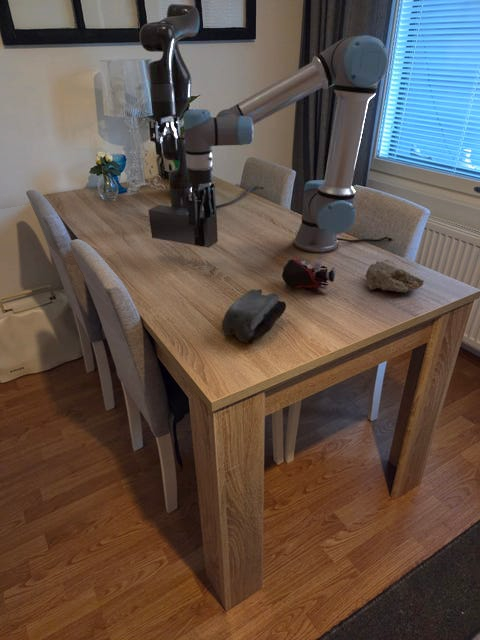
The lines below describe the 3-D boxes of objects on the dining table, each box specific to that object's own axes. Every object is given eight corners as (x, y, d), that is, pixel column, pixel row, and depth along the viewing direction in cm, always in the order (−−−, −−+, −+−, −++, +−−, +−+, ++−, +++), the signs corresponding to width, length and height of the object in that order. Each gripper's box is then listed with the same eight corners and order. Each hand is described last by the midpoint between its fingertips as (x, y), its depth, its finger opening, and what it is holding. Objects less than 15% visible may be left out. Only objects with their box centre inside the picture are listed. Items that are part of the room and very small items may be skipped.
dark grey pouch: (257, 354, 105) (257, 326, 101) (216, 341, 109) (215, 314, 105) (287, 319, 119) (289, 292, 114) (250, 308, 123) (250, 283, 119)
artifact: (384, 303, 127) (425, 296, 132) (391, 281, 123) (434, 275, 127) (349, 272, 141) (388, 267, 145) (355, 251, 136) (395, 247, 141)
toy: (334, 253, 124) (283, 248, 130) (327, 283, 122) (275, 277, 127) (338, 272, 135) (291, 267, 140) (332, 300, 132) (284, 294, 138)
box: (151, 237, 148) (148, 209, 143) (161, 232, 152) (158, 204, 147) (209, 247, 140) (207, 218, 135) (217, 241, 144) (216, 212, 139)
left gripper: (159, 101, 135) (164, 157, 143) (184, 97, 146) (187, 149, 154) (139, 100, 137) (145, 155, 146) (165, 96, 148) (169, 147, 157)
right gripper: (194, 176, 122) (199, 254, 134) (225, 162, 136) (228, 233, 149) (171, 174, 125) (178, 250, 137) (204, 160, 139) (208, 230, 151)
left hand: (167, 152), depth 150 cm, fingers open, 8 cm apart
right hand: (204, 241), depth 143 cm, fingers closed on box, 6 cm apart
